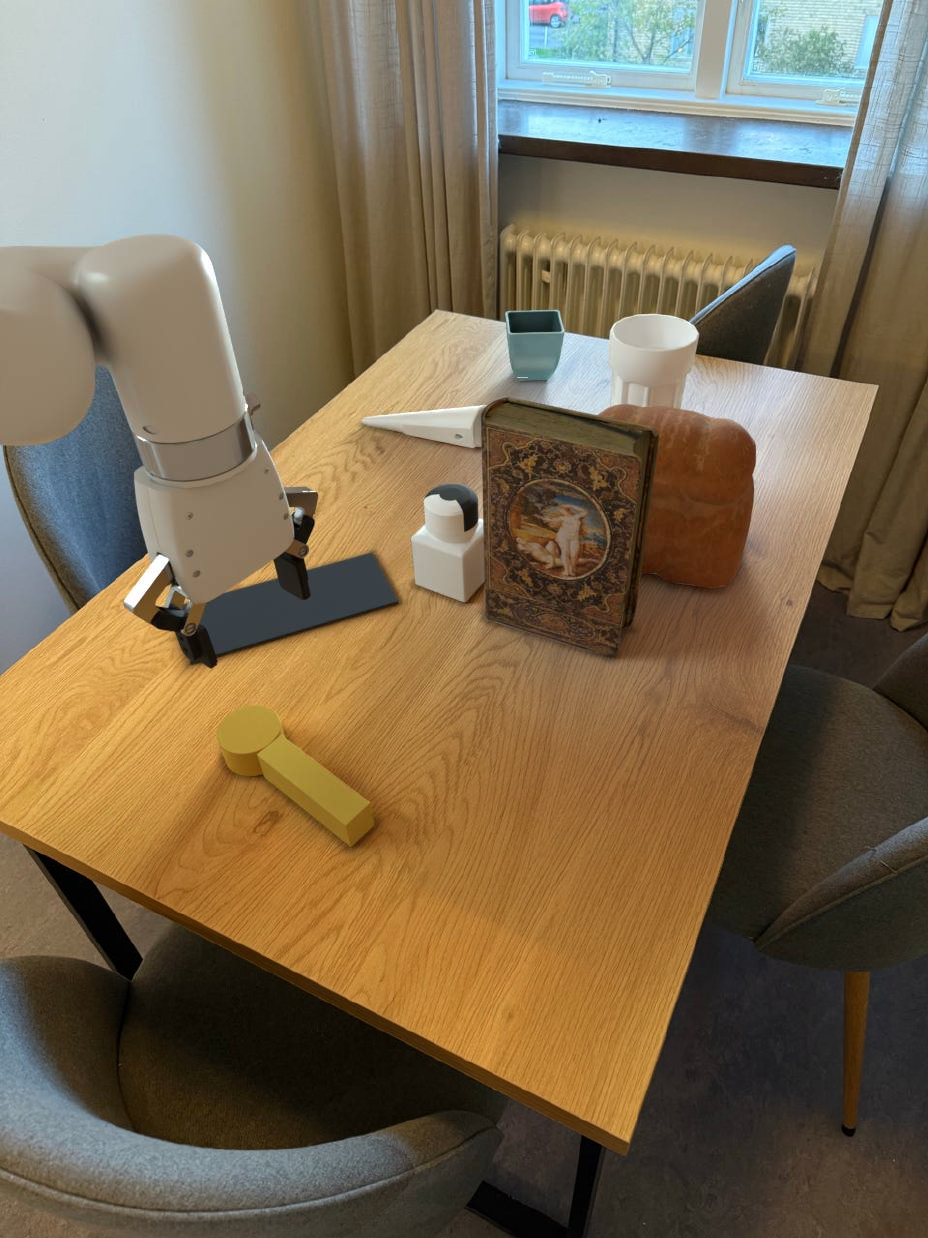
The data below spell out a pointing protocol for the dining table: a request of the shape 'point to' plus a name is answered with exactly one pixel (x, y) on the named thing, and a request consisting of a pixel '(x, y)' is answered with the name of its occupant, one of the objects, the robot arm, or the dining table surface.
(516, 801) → the dining table surface
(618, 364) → the cup
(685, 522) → the bread
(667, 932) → the dining table surface
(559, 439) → the book
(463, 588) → the medicine bottle
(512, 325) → the flower pot
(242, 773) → the yellow disc-ended bar
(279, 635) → the mat
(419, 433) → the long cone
